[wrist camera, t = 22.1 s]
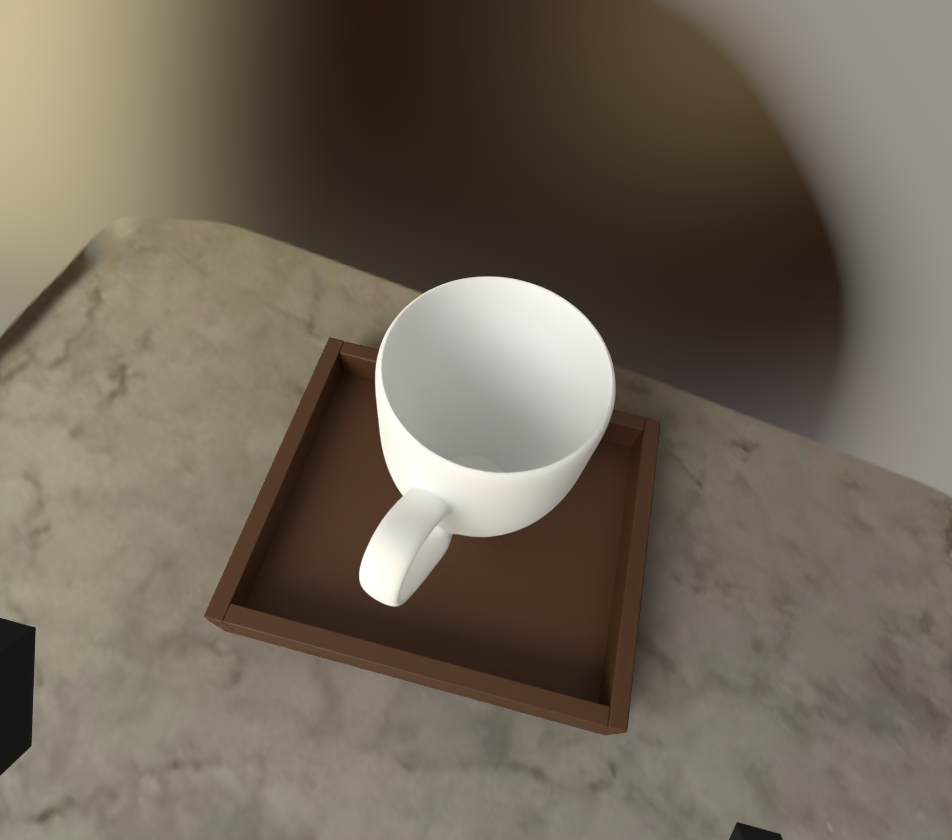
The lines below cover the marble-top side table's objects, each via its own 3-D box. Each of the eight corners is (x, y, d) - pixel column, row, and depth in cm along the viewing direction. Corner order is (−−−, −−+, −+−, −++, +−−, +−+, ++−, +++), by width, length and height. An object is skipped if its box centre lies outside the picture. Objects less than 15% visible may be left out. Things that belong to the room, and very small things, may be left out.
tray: (641, 447, 34) (661, 421, 32) (606, 735, 27) (627, 733, 24) (335, 368, 35) (329, 336, 32) (222, 630, 28) (203, 616, 25)
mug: (441, 394, 33) (453, 239, 23) (579, 467, 32) (655, 336, 22) (305, 588, 28) (246, 493, 18) (465, 686, 27) (497, 643, 17)
